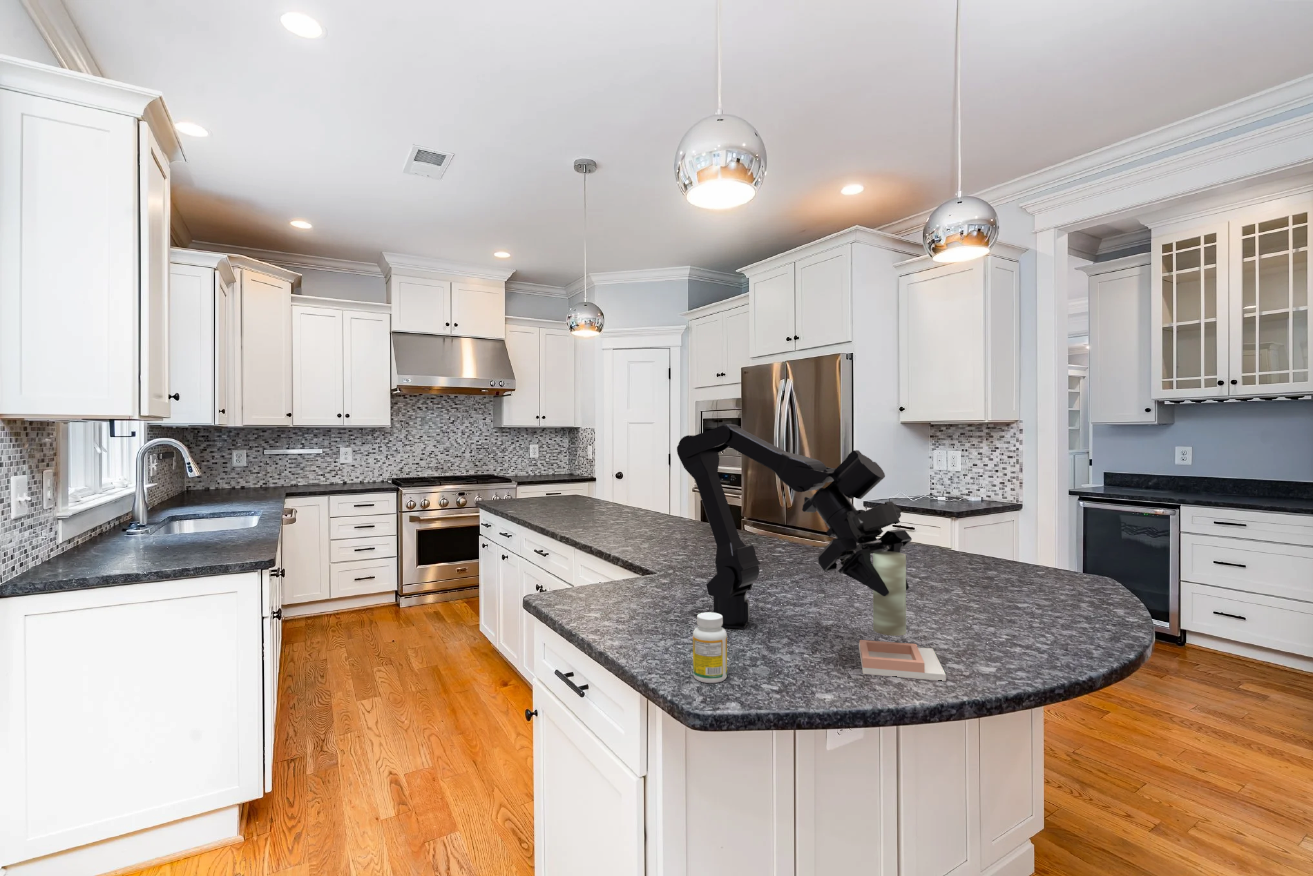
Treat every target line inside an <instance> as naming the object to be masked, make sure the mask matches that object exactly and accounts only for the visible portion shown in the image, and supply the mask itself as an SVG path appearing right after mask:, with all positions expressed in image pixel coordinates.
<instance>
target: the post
mask: <svg viewBox="0 0 1313 876" xmlns="http://www.w3.org/2000/svg"><path fill="white" fill-rule="evenodd" d="M906 562H907V556H906V554H905V553H902V552H900V553H898V552H889V551H879V552H874V553H873V556H872V564H873V566H874V568H875V569H876V571H877V572H878V574H879V575H880V577H881V579H882V580H883V582H884V583H885V585H886V587H887V589H888V591H889V594H888V595H887V596H882V595H881V594H879V593H877V592H876V591H874V590H872V611H873V612H872V613H873V614H872V621H873V623H872V624H873V625H872V627H873V628H872V629H873V631H874V632H875V633H877V634H880V635H883V636H890V637H899V636H904V635H905V636H906V634H907V591H906V580H907V563H906Z"/></svg>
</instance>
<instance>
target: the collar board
mask: <svg viewBox="0 0 1313 876" xmlns="http://www.w3.org/2000/svg"><path fill="white" fill-rule="evenodd" d="M858 651H859V657H860V662H861V663H860V665H861V669H862V674H863V675H872V676H883V677H892V676H897V677H896V678H903V679H904V678H906V679H918V680H927V681H929V680H930V681H938V680H942V681H941V682H947V681H946V680H947V676H946V675H947V674H946V673H945V671H944V668H943V666H942V664H941V662H940V660H939V658H938V657H937V655H936V653H935V651H934V648H931V647H930V648H929V647H918V644H916V643H906V642H904V643H903V642H892V641H881V640H879V641H878V640H868V639H866V640H865V639H859V642H858Z"/></svg>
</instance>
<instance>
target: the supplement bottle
mask: <svg viewBox="0 0 1313 876" xmlns="http://www.w3.org/2000/svg"><path fill="white" fill-rule="evenodd" d="M696 624H697V627H695V628H694V630H693V631H692V672H693V675H692V676H693V677H694V679H695V680H697V681H699V682H700V683H701V682H702V683H707V684H718V683H721V682H723V681H725V680H726V678H727V676H728V634H727V633H728V632H727V631H726V629H725V628H724V627H721V626H722V624H723V616H722V615H721V614H718V613H714V612H710V611H709V612H708V611H707V612H705V611H704V612H701V613H698V614H697V616H696Z"/></svg>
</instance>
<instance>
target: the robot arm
mask: <svg viewBox="0 0 1313 876" xmlns="http://www.w3.org/2000/svg"><path fill="white" fill-rule="evenodd" d="M729 448H731V449H733V450H735V451H736V452H738V453H740V454H742V455H743V456H745V457H747V458H750V459H751V460H753V461H755V462H757V463H759V464H760V465H763V466H764V467H766V468H768V469H769V470H771V471H772V472H773V473H775V475H776V476H777V478H778V479H779V480H780V481H781V482H782V483H784V484H785V485H786V486H787V487H789V488H790V489H791V490H792V491H794V492H798V493H804V492H805V493H807V492H811V491H816V492H815V493H814V494H812V495H811V496H810V497H809V496H805V497H804V501H803V505H802V509H801V510H802V513H803V512H804V513H816V512H817V513H818V515H819V516H820V518H821V519H822V521H823V522H824V523H825V524H826V526H827V528H828V530H826V532H825V533H826V535H827V536H828V538H831V537H835V538H832V540H831V541H830V542H829V543H828V544H827V545H826V546H825V547H824V548H823V549H822V550H821V551H820V553H818V554H817V564H818V565H819V567H820V568H821V570H822V571H823V573H828V572H834V571H836V570H837V567H838V566H837V565H838V563H837V562H836V561H838V560H839V561H840V564H841V567H840V568H839V569H838V571H837V572H838V573H839V574H842V575H843V574H844V575H845V576H847V577H850V578H851V579H853V580H855V581H857V582H859V583H860V584H862V585H864V586H866V587H867V588H869V589H871V590H872V591H873V590H874V591H876V592H877V593H879V594H881V595H882V596H887V595H888V594H889V591H888V589H887V587H886V585H885V583H884V582H883V580H882V579H881V577H880V575H879V574H878V572H877V571H876V569H875V568H874V566H873V562H872V560H871V559H872V558H871V556H872V557H873V553H874V552H879V551H889V552H898V553H901V551H902V550H903V549H904V548H905V547H906V546H907V545H908V544H909V543H911V542H912V539H913V538H912V536H911V535H910V534H909V533H908V532H907V530H906V529H889V530H887V531H885V533H884V530H883V528H887V527H888V526H889V527H890V526H891V525H897V524H899V523H900V522H901V521H900V518H901V517H902V514H901V513H902V509H901V508H899V507H898V506H897V504H896V503H894V502H893V501H892V500H890V501H889V500H888V501H885V502H884V503H880V504H879V505H877V506H874V507H871V508H869V509H867V510H866V509H865V510H864V509H857V508H856V507H855V506H854V504H853V503H852V501H850V499H852V500H853V499H854V498H855V499H857V500H862V499H863V498H864V497H865V496H867V494H869V492H870V491H872V490H873V489H874V488H875V487H876V486H877V485H878V484H879V483H880V482H882V480H883V479H885V477H886V474H885V471H884V470H883V468H882V467H881V466H880V465H879V464H878V463H877V462H876V461H873V460H872V459H870V458H869V456H866V455H864V454H863V453H862V452H861V451H860V450H857V449H855V450H852V451H850V453H849V454H848V455H847V457H846V458H845V459H844V460H843V461H842V462H841V463H840V464H838V466H837V467H834V468H832V467H828V466H826V464H824V462H822V461H821V460H819V459H816V458H812V457H809V456H805V455H801V454H796V453H793V452H789V451H785V450H783V449H781V448H780V447H778V446H775V445H774V444H772V443H770V442H769V441H766V440H764V439H762V438H760V437H758V436H756V435H755V434H752V433H750V432H748V431H746V430H744V429H743V428H741V427H740V426H739V425H737V424H730V423H729V424H727V423H724V424H721V425H719V426H717V427H715V428H713V429H710V430H707V431H704V432H700V433H698V434H692V435H690V434H689V435H685V436H683V437H682V438H681V439H680V440H679V442H678V445H677V446H676V453H677V456H678V459H679V461H680V462H681V464H682V467H683V468H684V470H686V472H687V473H688V474H689V475H690V476H691V477H692V478H693V479H694V481H695V484H696V487H697V490H698V494H699V496H700V499H701V502H702V505H703V507H704V512H705V515H706V518H707V520H708V524H709V526H710V529H711V532H712V533H711V534H712V536H713V540H714V541H715V546H716V551H715V559H714V564H715V570H716V574H715V575H714V576H713V577H711V579H710V580H709V581H708V582H707V583H706V585H705V586H706V590H707V593H708V595H709V596H711V597H713V613H718V614H721V615H722V616H723V624H722V626H721V627H722V628H724V629H725V628H728V629H738V630H739V629H740V630H743V629H746V626H747V625H748V624H749V622H750V620H751V618H750V616H751V614H750V613H751V612H750V611H751V610H750V601H751V600H750V599H747V597H748V596H747V595H748V594H747V593H748V592H749V591H752V588H753V585H754V583H755V582H756V581H757V580H758V577H759V575H760V568H759V566H760V565H761V562H760V561H759V558H758V557H757V555H756V554H757V553H756V550H755V549H756V548H755V546H754V545H753V544H751V545H746V544H745V543H744V542H743V541H742V540H741V538H740V535H739V532H738V530H737V527H736V523H735V521H734V517H733V515H732V512H731V509H730V505H729V502H728V499H727V496H726V494H725V491H724V488H723V486H722V483H721V479H720V476H719V466H720V456H719V455H720V454H719V453H722V452H724V451H726V450H727V449H729ZM826 483H830V484H828V485H827V486H826V487H824V486H825V485H826ZM882 533H883V534H882ZM881 535H882V536H881ZM879 536H881V537H879ZM877 537H879V538H877ZM909 588H910V585H909V583H908V580H907V579H906V592H907V590H909Z"/></svg>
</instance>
